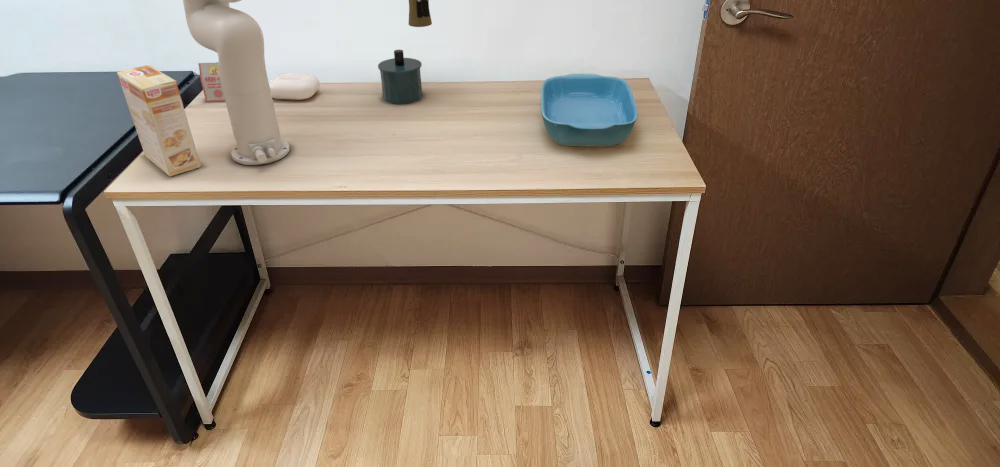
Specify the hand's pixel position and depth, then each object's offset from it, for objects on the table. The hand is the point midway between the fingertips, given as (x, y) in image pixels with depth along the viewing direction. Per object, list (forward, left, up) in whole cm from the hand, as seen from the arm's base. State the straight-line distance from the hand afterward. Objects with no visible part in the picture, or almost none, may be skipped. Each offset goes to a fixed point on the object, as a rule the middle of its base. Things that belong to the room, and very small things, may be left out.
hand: (419, 14), depth 165 cm
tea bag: (+24, +50, -21) cm, 59 cm away
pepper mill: (0, 0, -3) cm, 3 cm away
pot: (0, +7, -21) cm, 22 cm away
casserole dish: (-40, -25, -21) cm, 52 cm away
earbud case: (+16, +32, -21) cm, 41 cm away
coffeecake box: (-10, +66, -21) cm, 70 cm away
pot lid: (0, +7, -13) cm, 14 cm away
